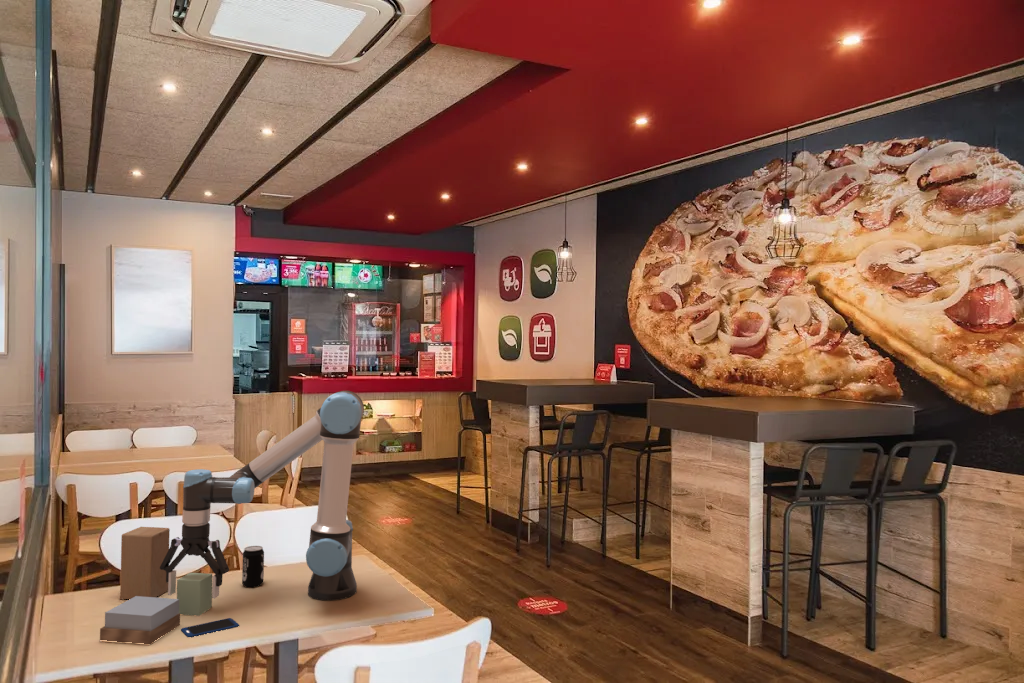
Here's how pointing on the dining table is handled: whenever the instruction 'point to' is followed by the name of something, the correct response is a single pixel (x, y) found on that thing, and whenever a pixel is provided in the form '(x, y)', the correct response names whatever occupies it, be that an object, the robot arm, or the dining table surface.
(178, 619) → the walnut base block
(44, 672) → the dining table surface
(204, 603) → the sage block
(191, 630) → the cell phone
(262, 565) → the beverage can
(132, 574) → the wooden block
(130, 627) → the slate top block
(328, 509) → the robot arm
